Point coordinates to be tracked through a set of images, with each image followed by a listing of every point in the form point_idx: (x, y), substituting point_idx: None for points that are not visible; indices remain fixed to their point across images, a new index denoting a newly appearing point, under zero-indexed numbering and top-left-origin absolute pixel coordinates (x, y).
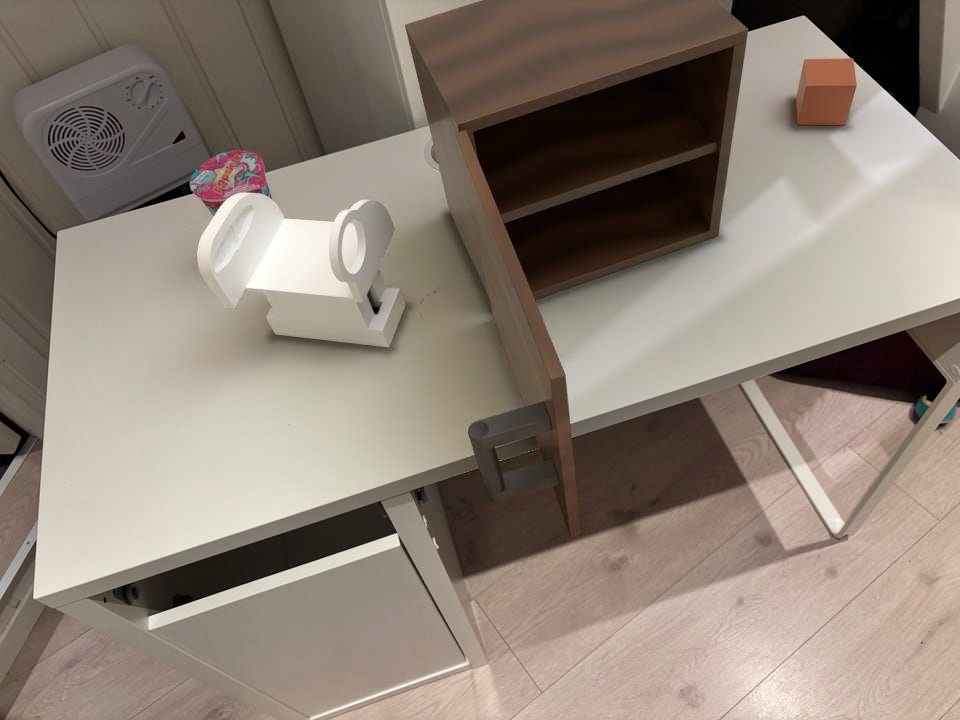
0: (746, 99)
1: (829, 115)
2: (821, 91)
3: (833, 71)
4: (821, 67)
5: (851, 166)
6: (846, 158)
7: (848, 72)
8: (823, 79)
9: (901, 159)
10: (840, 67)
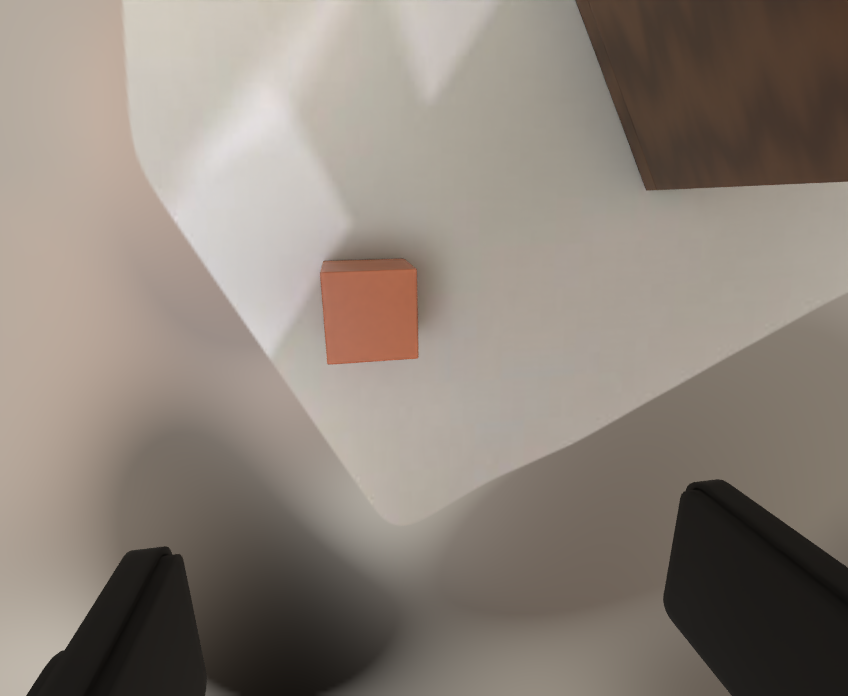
0: (485, 327)
1: (355, 262)
2: (383, 268)
3: (365, 318)
4: (387, 331)
5: (310, 137)
6: (320, 162)
7: (336, 316)
8: (384, 291)
9: (222, 161)
10: (351, 332)
